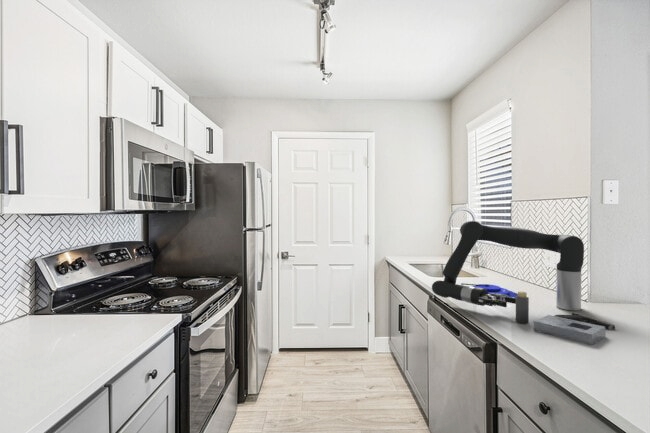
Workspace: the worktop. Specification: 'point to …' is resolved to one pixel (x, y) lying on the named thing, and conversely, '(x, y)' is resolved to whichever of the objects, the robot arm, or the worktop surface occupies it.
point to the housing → (570, 329)
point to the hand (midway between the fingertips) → (511, 302)
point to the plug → (522, 308)
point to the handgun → (588, 320)
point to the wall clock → (495, 289)
